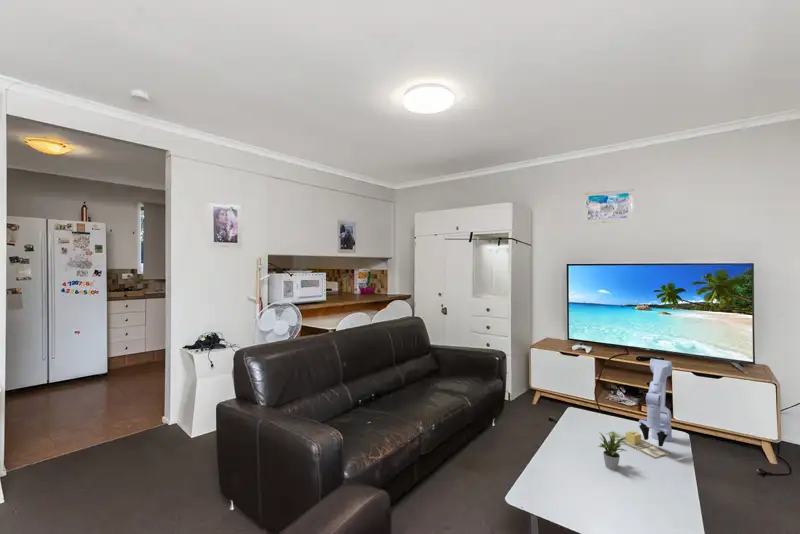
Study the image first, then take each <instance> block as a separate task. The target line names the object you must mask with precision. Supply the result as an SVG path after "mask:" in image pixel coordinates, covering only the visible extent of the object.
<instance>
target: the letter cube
mask: <svg viewBox="0 0 800 534" xmlns="http://www.w3.org/2000/svg"><path fill="white" fill-rule="evenodd" d="M625 437H626V441H628V443H631V444H633V445H638V444H641V439H642V434H641V433H639V432H636V431H635V430H630V431H626V432H625Z"/></svg>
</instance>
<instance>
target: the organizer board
mask: <svg viewBox="0 0 800 534" xmlns="http://www.w3.org/2000/svg"><path fill="white" fill-rule="evenodd" d="M613 433H615V440H616V442H617V441H618V440H617V439H621V438H623V437H625V438H623V439H624V440H622V441H626V436H625V435H624V434H622V433H619V432H617V431H615V430H613V431H609V432H605V433H604V434H605V435H606V436H609V437H610V436H612V434H613ZM609 434H610V435H609ZM622 443H623V444H624V446H627V447H630V448H631V449H635V450H636V451H638V452H639V453H642V454H644V455H646V456H649V457H651V458H652V459H658V458H662V457H666V456H669V455H672V452H670V451H668V450H666V449H664V448H662V447H660V446H657V445H655V444H652V443H651V442H648V441H647V440H644V439H642V438H641V444H638V445H633V444H631V443H628V442H621V443H620V444H622Z"/></svg>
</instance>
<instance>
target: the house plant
mask: <svg viewBox="0 0 800 534" xmlns="http://www.w3.org/2000/svg"><path fill="white" fill-rule="evenodd" d="M599 434H600V436H601V437H599V439H601V438H602V439H601V441H602V442H603V443H601V442H600V445H598V447H599V448H602V449H603V448H604V451H603V452H602V454H603V460H604V466H605V467H606V468H607V469H609V470H613V471H615V470H618V467H619V464H620V458H621V457H620V456H621V455H620V454H619V453H620V452H623V451H624V452H628V450H627V449H624V448H621V447H622V446H625V444H623V443H621V442H628V441H622V440H624V439H623V438H625V437H626V436H624V437H620V438H621V439H620V438H616V439H615V433H613V434H612V436H609V435H610V434H609V435H608V436H609V439H610V440H607V439H606V436H605V435H604V434H603V433H601V432H600V431H599ZM617 440H618V441H617ZM618 450H619V451H618Z"/></svg>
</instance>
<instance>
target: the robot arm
mask: <svg viewBox="0 0 800 534" xmlns="http://www.w3.org/2000/svg"><path fill="white" fill-rule="evenodd" d="M649 369H650V371H651V373H652V374H653V377H652V380H651V381H650V382H649V387H648V392H646V395H645V403H646V404H645V405H646V407H647V408H646V420H644V419H639V420H638V424H639V429H640V431H641V433H642V436H643V440H644V441H647V440H649V438H650V437H649V436H650V435H649V433H650V429H651V438H652V439H653V440H655V441H657V442H658V447H659V448H662V447H663V446H664V443H665V442H674V439H673V436H672V434H673V432H672V431H673V430H672V426H671V424H672V412H671V410H670V409H669V408H668V407H667V406H666V397H667V396H666V394H667V390H666V389H667V379H668V377H671V376H672V374H673V373H672V372H673V362H672V361H671V360H663V359H657V358H650V360H649Z"/></svg>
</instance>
